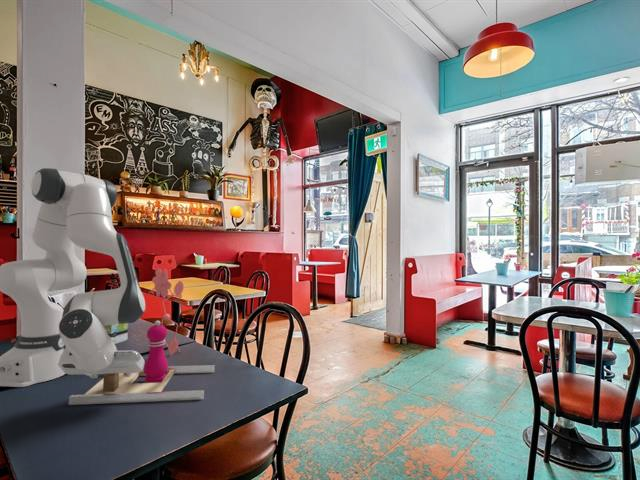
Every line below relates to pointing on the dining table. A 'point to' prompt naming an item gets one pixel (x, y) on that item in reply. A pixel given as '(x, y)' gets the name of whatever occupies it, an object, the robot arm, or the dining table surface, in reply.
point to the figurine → (161, 288)
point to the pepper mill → (156, 354)
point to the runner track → (147, 395)
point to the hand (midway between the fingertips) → (112, 375)
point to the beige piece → (127, 384)
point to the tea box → (117, 332)
